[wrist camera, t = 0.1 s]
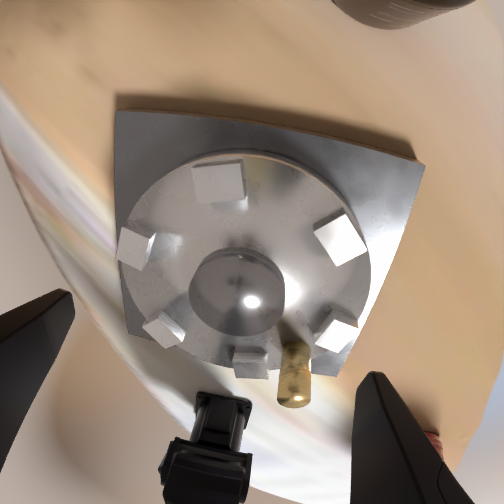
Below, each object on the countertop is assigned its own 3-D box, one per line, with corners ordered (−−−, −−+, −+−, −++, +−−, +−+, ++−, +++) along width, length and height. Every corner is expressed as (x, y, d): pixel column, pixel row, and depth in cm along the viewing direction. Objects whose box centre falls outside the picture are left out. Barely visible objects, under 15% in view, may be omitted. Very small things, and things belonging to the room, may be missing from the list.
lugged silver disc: (326, 366, 26) (327, 428, 21) (140, 327, 27) (111, 381, 22) (399, 182, 18) (438, 228, 12) (132, 134, 18) (71, 161, 13)
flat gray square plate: (335, 364, 29) (336, 381, 27) (134, 323, 29) (125, 337, 28) (417, 159, 18) (428, 168, 17) (126, 108, 19) (111, 112, 17)
